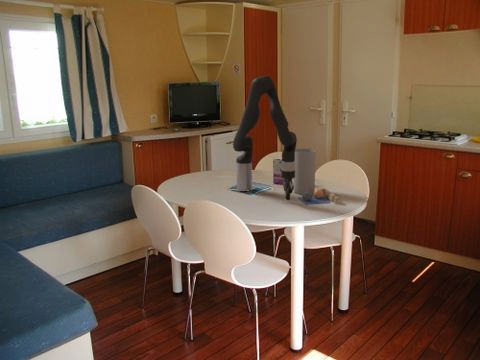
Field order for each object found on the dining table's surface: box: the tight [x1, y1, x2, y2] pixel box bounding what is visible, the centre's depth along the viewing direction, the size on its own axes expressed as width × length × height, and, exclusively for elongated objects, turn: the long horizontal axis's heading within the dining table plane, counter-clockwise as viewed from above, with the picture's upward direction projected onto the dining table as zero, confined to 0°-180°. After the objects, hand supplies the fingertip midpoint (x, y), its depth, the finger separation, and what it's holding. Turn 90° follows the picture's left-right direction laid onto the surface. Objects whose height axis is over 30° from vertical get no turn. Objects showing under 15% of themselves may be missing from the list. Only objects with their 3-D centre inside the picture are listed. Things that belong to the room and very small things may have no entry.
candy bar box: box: [272, 157, 284, 185], centre depth 290 cm, size 11×5×16 cm, turn 76°
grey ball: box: [301, 191, 313, 201], centre depth 253 cm, size 6×6×6 cm
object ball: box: [312, 188, 324, 199], centre depth 257 cm, size 6×6×6 cm
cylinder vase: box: [292, 148, 316, 195], centre depth 269 cm, size 12×12×25 cm
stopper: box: [320, 188, 340, 205], centre depth 256 cm, size 20×2×4 cm, turn 13°
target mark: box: [297, 195, 331, 206], centre depth 255 cm, size 14×14×1 cm
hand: (287, 199), depth 251 cm, fingers closed
